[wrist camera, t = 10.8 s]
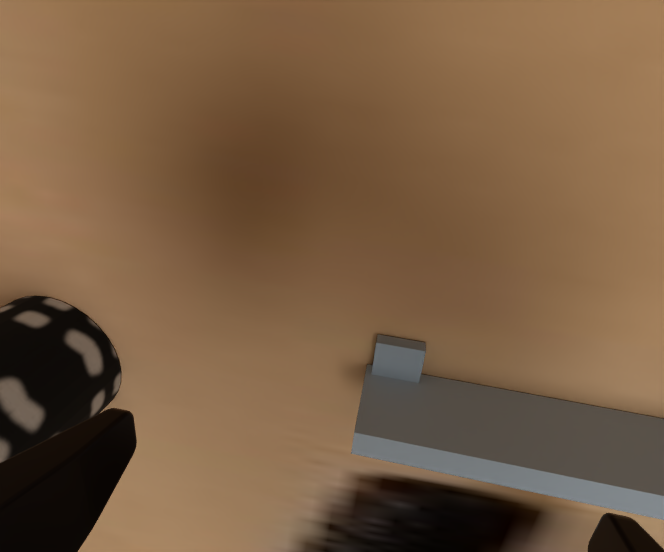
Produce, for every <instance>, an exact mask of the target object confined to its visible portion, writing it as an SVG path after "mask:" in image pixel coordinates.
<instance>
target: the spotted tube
mask: <svg viewBox="0 0 664 552" xmlns="http://www.w3.org/2000/svg"><path fill="white" fill-rule="evenodd" d="M120 383H121V369H120V365H119V360H118V357H117V355H116V353H115V350H114V348H113V346H112V345H111V343H110V341H109V340H108V338H107V336H106V335H105V334H104V333H103V332H102V331H101V329H100V328H99V327H98V326H97V325H96V324H95V323H94V322H93V321H92V320H91V319H89V318H88V317H87V316H86V315H85V314H83V313H82V312H80V311H79V310H77V309H76V308H74V307H72V306H70V305H68V304H66V303H64V302H62V301H59V300H55V299H52V298H49V297H41V296H30V297H23V298H20V299H18V300H15V301H13V302H11V303H9V304H7V305H5V306H3V307H1V308H0V463H1V462H3V461H5V460H7V459H9V458H11V457H13V456H15V455H17V454H19V453H21V452H23V451H25V450H27V449H29V448H31V447H33V446H35V445H37V444H39V443H41V442H43V441H45V440H47V439H49V438H51V437H53V436H55V435H57V434H59V433H61V432H63V431H65V430H67V429H69V428H71V427H73V426H75V425H77V424H79V423H81V422H83V421H85V420H87V419H90V418H92V417H94V416H96V415H98V414H99V413H100V412H101V411H102V410H103V409H104V408H105V407H106V406H107V405H108V404H109V403H110V402H111V401H112V400H113V399H114V397H115V396H116V394H117V392H118V390H119V387H120Z"/></svg>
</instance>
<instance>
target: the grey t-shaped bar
mask: <svg viewBox="0 0 664 552" xmlns="http://www.w3.org/2000/svg"><path fill="white" fill-rule="evenodd" d="M425 353H426V343H425V342H419V341H413V340H408V339H402V338H396V337H390V336H385V335H379V334H378V336H377V342H376V348H375V354H374V361H373V365H369V364H367V368H366V373H365V379H364V384H363V389H362V394H361V400H360V405H359V410H358V416H357V421H356V426H355V432H354V438H353V445H352V452H351V454H356V455H361V456H365V457H370V458H375V459H379V460H384V461H389V462H393V463H398V464H403V465H408V466H412V467H417V468H422V469H426V470H431V471H436V472H441V473H445V474H450V475H455V476H459V477H464V478H469V479H474V480H478V481H483V482H488V483H492V484H497V485H502V486H506V487H511V488H516V489H521V490H525V491H530V492H535V493H539V494H544V495H549V496H554V497H558V498H563V499H568V500H572V501H577V502H582V503H587V504H591V505H596V506H601V507H605V508H610V509H615V510H620V511H624V512H629V513H634V514H638V515H643V516H648V517H652V518H657V519H662V520H664V419H662V418H657V417H651V416H646V415H641V414H635V413H630V412H624V411H619V410H613V409H608V408H603V407H597V406H592V405H586V404H581V403H575V402H570V401H565V400H559V399H554V398H548V397H543V396H537V395H532V394H527V393H521V392H516V391H510V390H505V389H499V388H494V387H489V386H483V385H478V384H472V383H467V382H461V381H456V380H451V379H445V378H440V377H434V376H429V375H423V374H421V371H422V367H423V362H424V357H425Z"/></svg>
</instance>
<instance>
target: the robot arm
mask: <svg viewBox="0 0 664 552" xmlns="http://www.w3.org/2000/svg"><path fill="white" fill-rule="evenodd" d="M136 443H137V440H136V432H135V425H134V417H133V414H132V413H131V412H130V411H127V410H122V409H117V408H111V409H108V410H106V411H104V412H102V413H100V414H98V415H96V416H94V417H92V418H90V419H87V420H85V421H83V422H81V423H79V424H77V425H75V426H73V427H71V428H69V429H67V430H65V431H63V432H61V433H59V434H57V435H55V436H53V437H51V438H49V439H47V440H45V441H43V442H41V443H39V444H37V445H35V446H33V447H31V448H29V449H27V450H25V451H23V452H21V453H19V454H17V455H15V456H13V457H11V458H9V459H7V460H5V461H3V462H1V463H0V552H78V550H79V549H80V547H81V546H82V544H83V543H84V541H85V540H86V538H87V536H88V535H89V533H90V532H91V530H92V529H93V527H94V525H95V523H96V522H97V520H98V518H99V517H100V515H101V513H102V511H103V509H104V507H105V506H106V504H107V502H108V500H109V498H110V496H111V495H112V493H113V491H114V489H115V487H116V485H117V483H118V482H119V480H120V478H121V476H122V474H123V472H124V471H125V469H126V467H127V465H128V463H129V461H130V459H131V458H132V456H133V454H134V451H135V448H136ZM588 552H664V549H663V548H662V547H661V546H660V545H659V544H658V543H657V542H656V541H655V540H654V539H653V538H652V537H651V536H650V535H649V534H648V533H647V532H646V531H645V530H644V529H643V528H642V527H641V526H640V525H639V524H638V523H637V522H636V521H635V520H633V519H632V518H630V517H626V516H622V515H617V514H612V513H606V514H604V515H603V516H602V517H601V519H600V521H599V523H598V525H597V527H596V529H595V531H594V533H593V535H592V537H591V539H590V541H589V545H588Z"/></svg>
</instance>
